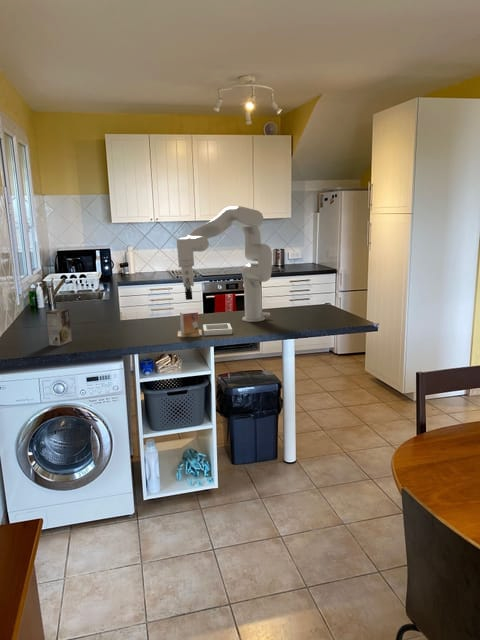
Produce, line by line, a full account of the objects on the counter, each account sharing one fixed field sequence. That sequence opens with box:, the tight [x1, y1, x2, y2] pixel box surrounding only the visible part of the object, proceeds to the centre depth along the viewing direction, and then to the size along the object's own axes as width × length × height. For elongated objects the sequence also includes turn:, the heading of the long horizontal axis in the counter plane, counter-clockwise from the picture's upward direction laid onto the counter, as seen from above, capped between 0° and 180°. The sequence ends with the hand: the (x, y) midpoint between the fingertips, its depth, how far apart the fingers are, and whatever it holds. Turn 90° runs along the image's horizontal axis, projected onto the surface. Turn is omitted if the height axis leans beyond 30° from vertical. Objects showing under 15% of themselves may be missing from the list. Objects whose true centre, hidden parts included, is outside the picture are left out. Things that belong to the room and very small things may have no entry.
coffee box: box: [45, 308, 73, 347], centre depth 232 cm, size 9×6×16 cm
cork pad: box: [177, 329, 203, 338], centre depth 244 cm, size 12×12×1 cm
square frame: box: [202, 322, 233, 336], centre depth 247 cm, size 14×14×2 cm
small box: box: [179, 310, 200, 334], centre depth 243 cm, size 8×6×10 cm
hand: (189, 297), depth 240 cm, fingers open, 9 cm apart
